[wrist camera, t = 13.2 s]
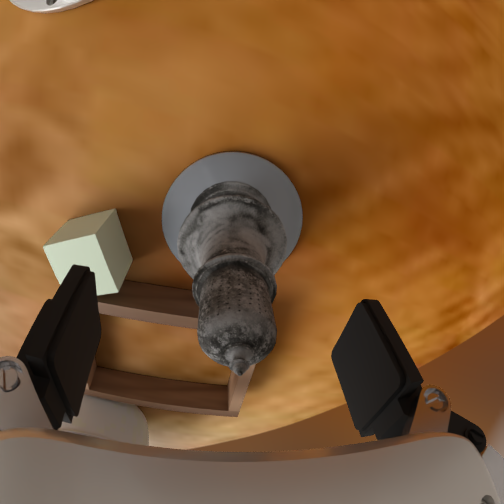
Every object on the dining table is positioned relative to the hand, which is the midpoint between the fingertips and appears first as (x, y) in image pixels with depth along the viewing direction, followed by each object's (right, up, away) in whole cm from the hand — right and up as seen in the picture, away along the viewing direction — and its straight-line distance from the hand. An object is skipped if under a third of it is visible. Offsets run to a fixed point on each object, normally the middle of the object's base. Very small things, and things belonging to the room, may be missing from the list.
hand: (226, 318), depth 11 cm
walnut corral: (-7, -5, +15) cm, 17 cm away
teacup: (-15, -16, +20) cm, 30 cm away
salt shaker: (0, +4, +9) cm, 10 cm away
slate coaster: (0, +4, +10) cm, 11 cm away
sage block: (-10, +3, +10) cm, 14 cm away
